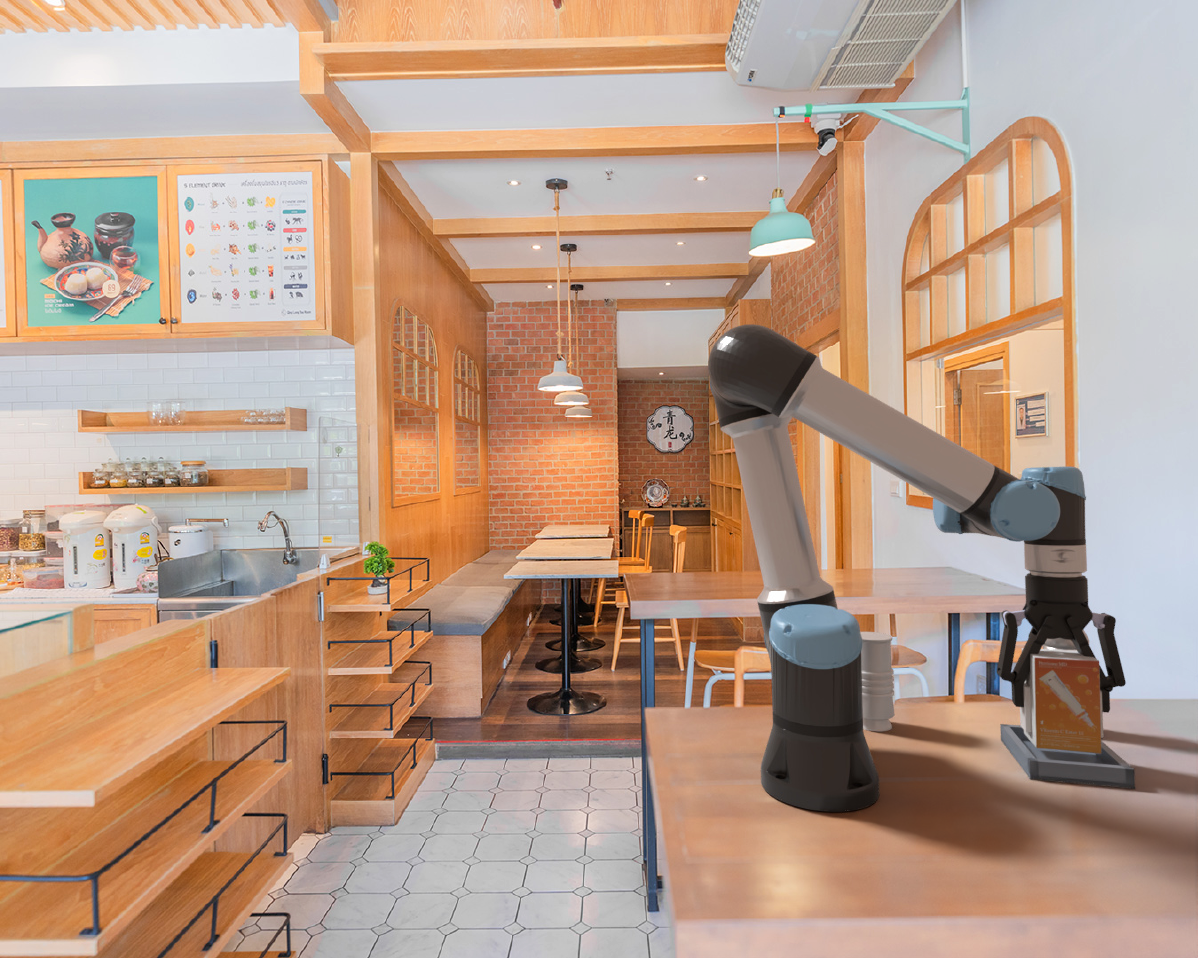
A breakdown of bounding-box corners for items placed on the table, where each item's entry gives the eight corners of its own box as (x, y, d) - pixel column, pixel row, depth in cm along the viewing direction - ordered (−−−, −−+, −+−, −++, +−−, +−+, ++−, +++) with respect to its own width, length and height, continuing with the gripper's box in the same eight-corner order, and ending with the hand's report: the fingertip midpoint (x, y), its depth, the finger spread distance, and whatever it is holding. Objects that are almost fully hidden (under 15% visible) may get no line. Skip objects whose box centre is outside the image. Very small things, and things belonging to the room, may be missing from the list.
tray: (1030, 779, 93) (1029, 760, 93) (1000, 739, 107) (1000, 723, 107) (1135, 788, 89) (1134, 769, 89) (1090, 746, 104) (1089, 730, 104)
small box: (1036, 749, 96) (1033, 656, 97) (1023, 733, 102) (1020, 646, 103) (1103, 754, 94) (1100, 659, 94) (1086, 738, 100) (1083, 649, 100)
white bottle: (842, 720, 118) (840, 633, 118) (878, 716, 119) (875, 630, 119) (867, 734, 111) (864, 641, 111) (904, 729, 113) (901, 638, 113)
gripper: (980, 575, 98) (985, 734, 98) (1154, 577, 92) (1160, 747, 92) (969, 569, 105) (973, 717, 105) (1129, 571, 99) (1135, 728, 99)
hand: (1060, 731), depth 98 cm, fingers closed on small box, 8 cm apart
